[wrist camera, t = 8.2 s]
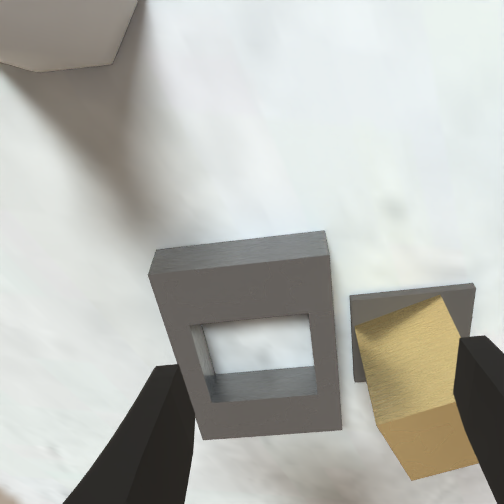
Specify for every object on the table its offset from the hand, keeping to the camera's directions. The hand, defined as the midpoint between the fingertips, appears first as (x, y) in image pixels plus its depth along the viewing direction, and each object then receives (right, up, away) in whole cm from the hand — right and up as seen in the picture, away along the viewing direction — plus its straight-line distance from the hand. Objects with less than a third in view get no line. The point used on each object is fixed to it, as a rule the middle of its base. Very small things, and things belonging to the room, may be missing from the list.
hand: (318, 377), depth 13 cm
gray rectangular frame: (-1, -1, +13) cm, 13 cm away
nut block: (+7, -1, +13) cm, 14 cm away
